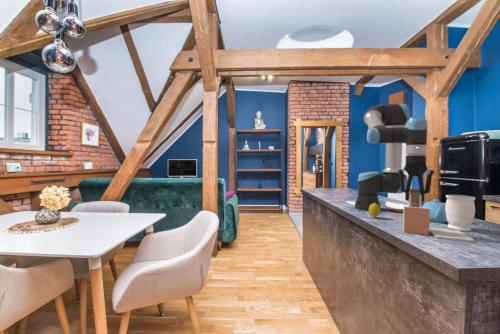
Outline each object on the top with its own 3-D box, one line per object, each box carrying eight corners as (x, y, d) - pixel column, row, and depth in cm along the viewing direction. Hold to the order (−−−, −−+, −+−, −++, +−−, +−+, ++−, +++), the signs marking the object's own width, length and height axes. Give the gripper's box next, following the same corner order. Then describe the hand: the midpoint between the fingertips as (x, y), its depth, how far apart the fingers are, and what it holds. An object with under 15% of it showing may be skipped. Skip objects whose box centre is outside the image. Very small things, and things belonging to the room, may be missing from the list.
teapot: (440, 225, 121) (441, 202, 120) (411, 217, 135) (411, 198, 134) (461, 222, 126) (462, 201, 125) (430, 215, 140) (431, 196, 140)
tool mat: (426, 229, 113) (426, 227, 113) (459, 232, 108) (459, 230, 108) (436, 238, 100) (436, 236, 100) (474, 242, 95) (474, 240, 95)
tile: (402, 231, 109) (403, 206, 109) (427, 233, 106) (428, 208, 105) (403, 232, 107) (404, 207, 107) (428, 235, 104) (429, 208, 104)
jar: (480, 233, 108) (481, 198, 107) (452, 231, 110) (454, 197, 109) (464, 226, 118) (465, 194, 117) (439, 225, 120) (440, 194, 120)
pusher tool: (402, 216, 114) (403, 188, 113) (423, 218, 111) (424, 189, 110) (404, 219, 109) (405, 189, 109) (426, 221, 106) (427, 190, 106)
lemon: (370, 218, 132) (371, 203, 131) (367, 216, 137) (367, 201, 137) (381, 219, 131) (382, 203, 131) (377, 216, 136) (378, 202, 136)
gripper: (396, 154, 109) (394, 208, 109) (441, 154, 103) (439, 211, 103) (393, 155, 116) (392, 205, 116) (435, 155, 110) (433, 208, 110)
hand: (414, 208), depth 110 cm, fingers closed on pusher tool, 3 cm apart
